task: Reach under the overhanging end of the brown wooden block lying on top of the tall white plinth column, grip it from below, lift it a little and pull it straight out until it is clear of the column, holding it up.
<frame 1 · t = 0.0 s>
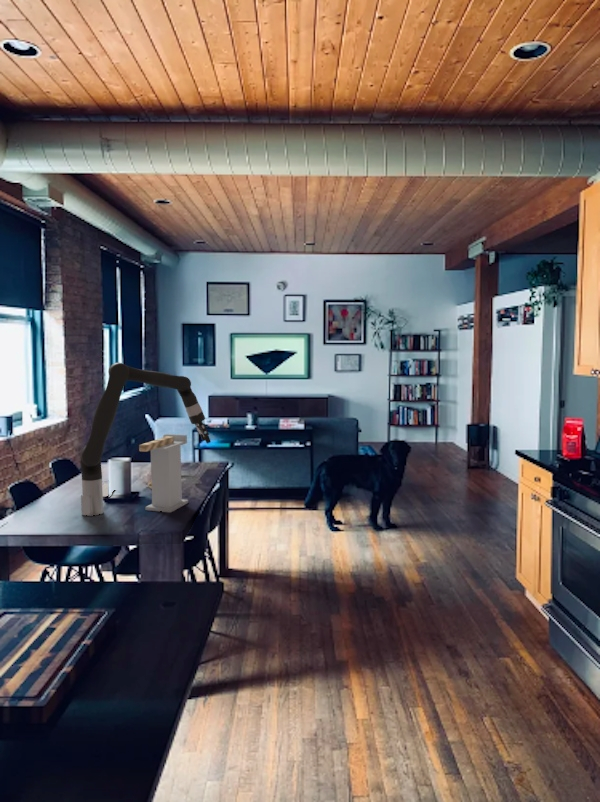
hand: (206, 441, 313), 31 cm above the table, tool tilted 20°, fingers open, 8 cm apart
baseboard molding: (104, 492, 338), on the table
brown wooden block: (157, 446, 295), point 32 cm above the table, touching white plinth column
white plinth column: (167, 506, 306), on the table
flower in vase: (169, 473, 380), on the table
beige blocky figure: (160, 486, 350), on the table
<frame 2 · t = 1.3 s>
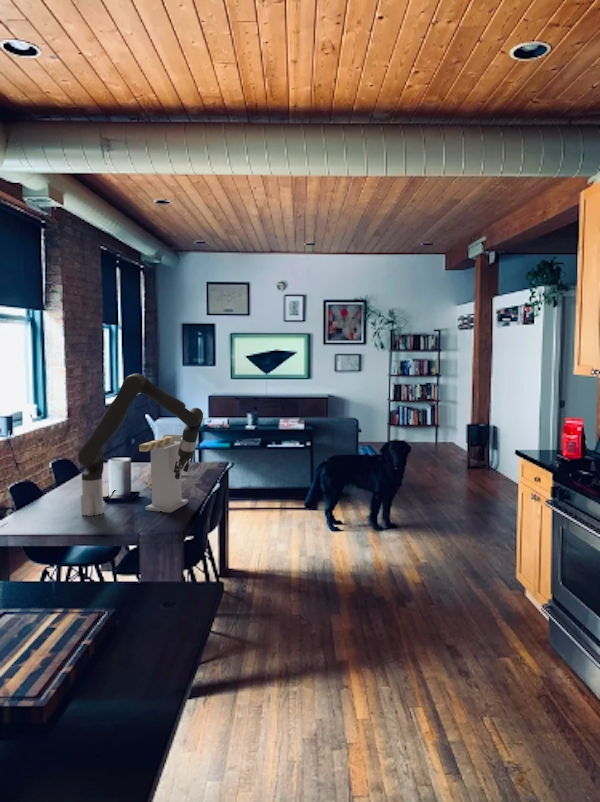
hand: (181, 474, 298), 18 cm above the table, tool tilted 25°, fingers open, 8 cm apart
nothing on the table moved.
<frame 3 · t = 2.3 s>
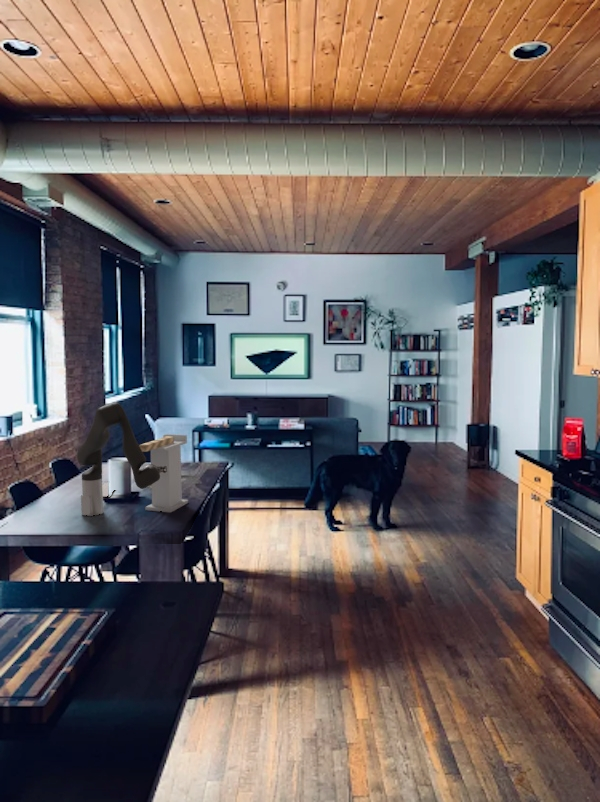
hand: (151, 469, 287), 23 cm above the table, tool horizontal, fingers open, 8 cm apart
nothing on the table moved.
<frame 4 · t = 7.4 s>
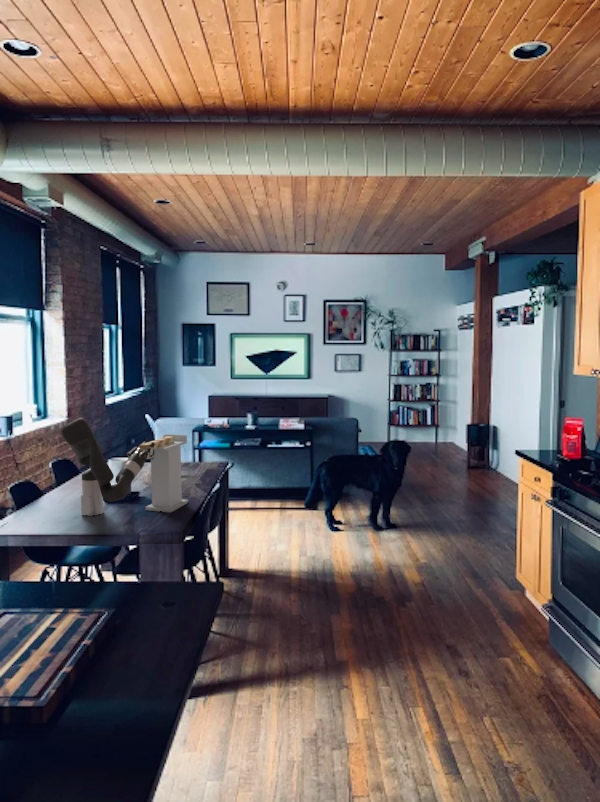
hand: (149, 443, 288), 35 cm above the table, tool pointing upward, fingers closed on brown wooden block, 3 cm apart
brown wooden block: (157, 446, 295), point 32 cm above the table, touching gripper, white plinth column
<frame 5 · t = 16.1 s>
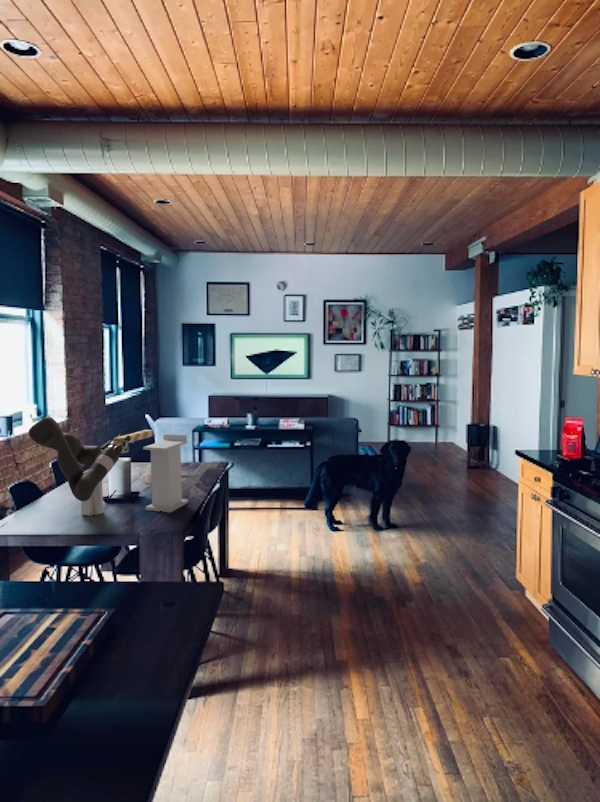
hand: (124, 436, 269), 41 cm above the table, tool pointing upward, fingers closed on brown wooden block, 3 cm apart
brown wooden block: (134, 440, 276), point 38 cm above the table, touching gripper
beige blocky figure: (166, 485, 351), on the table
everything else where it was.
at the end: the gripper is holding brown wooden block; brown wooden block touching gripper; brown wooden block moved 20.9 cm from its start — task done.
